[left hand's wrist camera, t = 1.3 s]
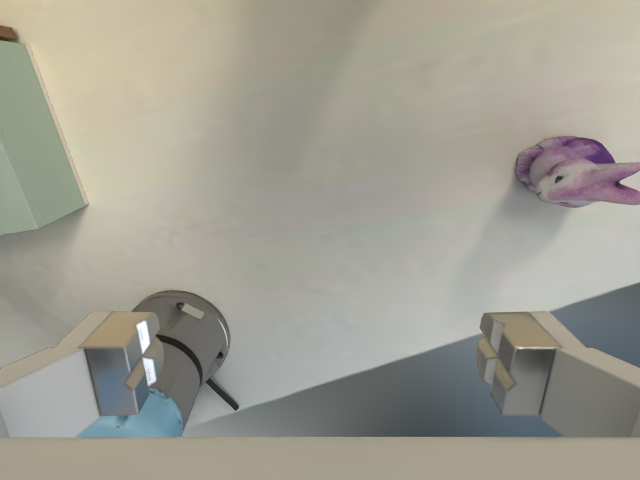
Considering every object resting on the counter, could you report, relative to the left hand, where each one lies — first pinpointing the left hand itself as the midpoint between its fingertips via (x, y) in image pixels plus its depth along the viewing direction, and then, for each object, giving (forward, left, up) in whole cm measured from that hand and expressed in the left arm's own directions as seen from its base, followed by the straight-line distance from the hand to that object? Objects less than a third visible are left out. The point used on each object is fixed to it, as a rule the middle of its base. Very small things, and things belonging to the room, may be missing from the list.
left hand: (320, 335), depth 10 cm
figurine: (+5, +30, -45) cm, 54 cm away
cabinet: (-1, -38, -45) cm, 59 cm away
